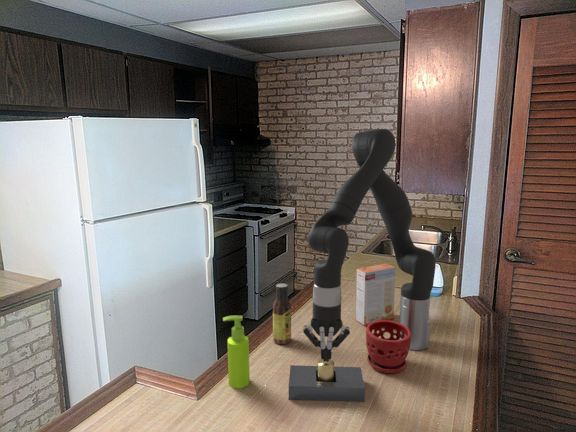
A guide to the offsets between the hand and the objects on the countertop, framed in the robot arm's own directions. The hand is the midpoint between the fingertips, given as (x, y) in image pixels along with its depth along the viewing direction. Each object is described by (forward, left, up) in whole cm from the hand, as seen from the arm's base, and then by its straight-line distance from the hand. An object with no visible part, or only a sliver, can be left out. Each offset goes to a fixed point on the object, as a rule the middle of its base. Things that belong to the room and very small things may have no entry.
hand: (325, 359), depth 112 cm
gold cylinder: (0, 0, -9) cm, 9 cm away
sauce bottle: (+14, -27, -9) cm, 32 cm away
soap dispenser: (+25, -2, -9) cm, 27 cm away
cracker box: (-20, -45, -9) cm, 50 cm away
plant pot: (-19, -13, -9) cm, 25 cm away
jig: (0, 0, -9) cm, 9 cm away
